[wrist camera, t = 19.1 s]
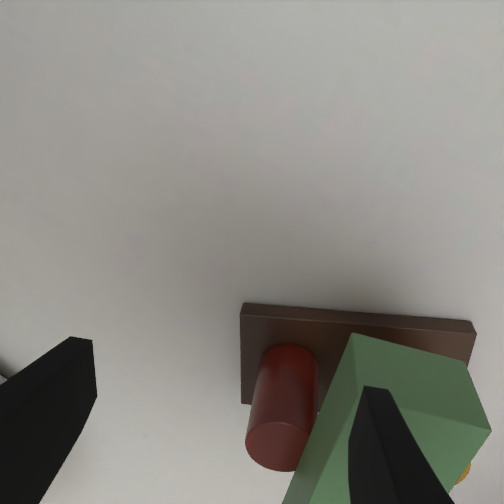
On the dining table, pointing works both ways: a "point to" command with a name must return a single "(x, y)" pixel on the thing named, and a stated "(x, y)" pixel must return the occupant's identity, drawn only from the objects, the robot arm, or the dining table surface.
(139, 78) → the dining table surface
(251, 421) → the rod stand
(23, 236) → the dining table surface
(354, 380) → the bar
